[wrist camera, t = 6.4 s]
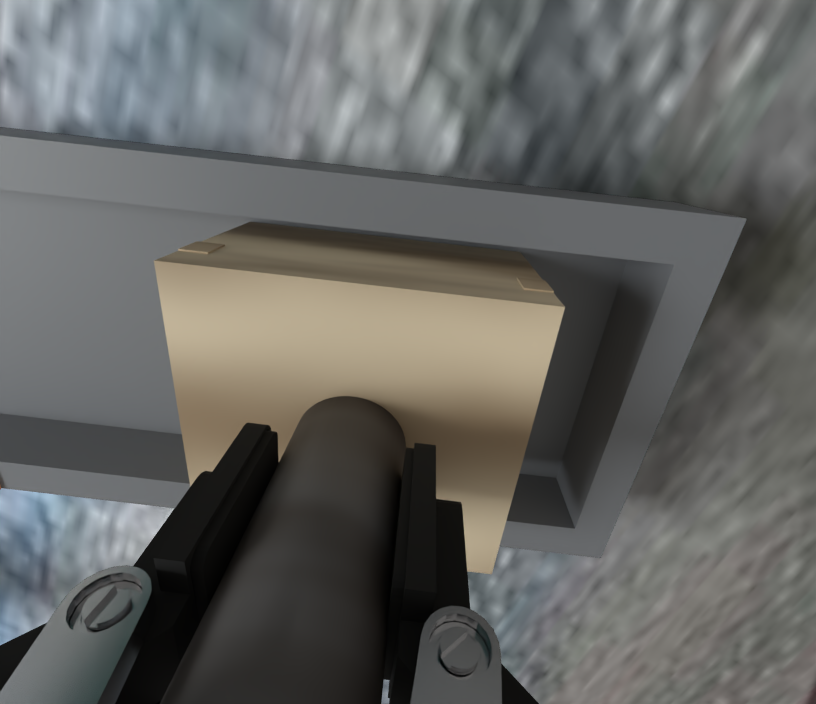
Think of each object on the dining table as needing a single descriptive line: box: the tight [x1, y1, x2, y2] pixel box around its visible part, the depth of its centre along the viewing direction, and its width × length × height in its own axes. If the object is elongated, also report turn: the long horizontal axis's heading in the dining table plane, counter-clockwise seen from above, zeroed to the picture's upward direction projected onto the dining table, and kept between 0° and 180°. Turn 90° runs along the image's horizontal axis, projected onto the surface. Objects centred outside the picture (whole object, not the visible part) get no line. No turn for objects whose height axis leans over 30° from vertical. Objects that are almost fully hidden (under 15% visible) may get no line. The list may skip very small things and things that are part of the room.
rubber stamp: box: [154, 222, 565, 704], centre depth 12 cm, size 10×10×14 cm
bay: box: [0, 127, 747, 558], centre depth 17 cm, size 14×30×4 cm, turn 84°
